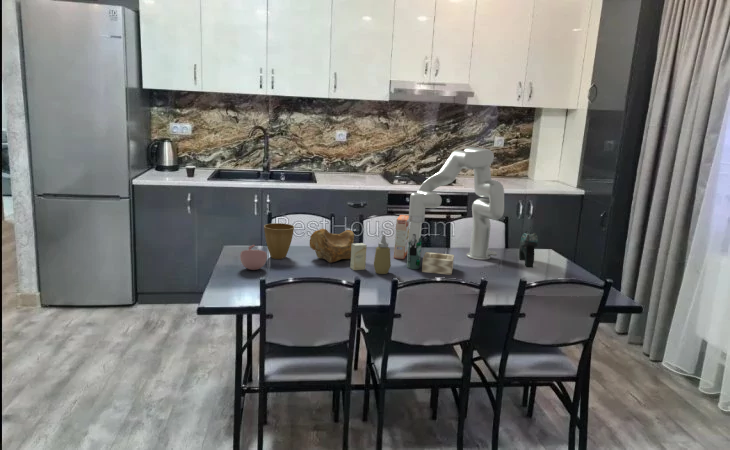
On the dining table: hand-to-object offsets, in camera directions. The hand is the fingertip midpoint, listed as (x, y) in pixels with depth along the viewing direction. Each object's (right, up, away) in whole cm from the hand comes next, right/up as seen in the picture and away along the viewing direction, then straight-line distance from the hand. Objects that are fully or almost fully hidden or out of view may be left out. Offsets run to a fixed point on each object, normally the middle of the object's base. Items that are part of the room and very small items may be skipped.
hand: (414, 252), depth 267 cm
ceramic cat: (+60, -7, +20) cm, 63 cm away
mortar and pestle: (-75, -7, -15) cm, 77 cm away
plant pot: (-67, -3, +8) cm, 68 cm away
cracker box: (-5, -3, +22) cm, 23 cm away
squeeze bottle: (-16, -9, -10) cm, 21 cm away
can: (0, -7, +2) cm, 7 cm away
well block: (+11, -8, -1) cm, 14 cm away
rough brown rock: (-40, -4, +8) cm, 41 cm away
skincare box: (-27, -8, -5) cm, 29 cm away
